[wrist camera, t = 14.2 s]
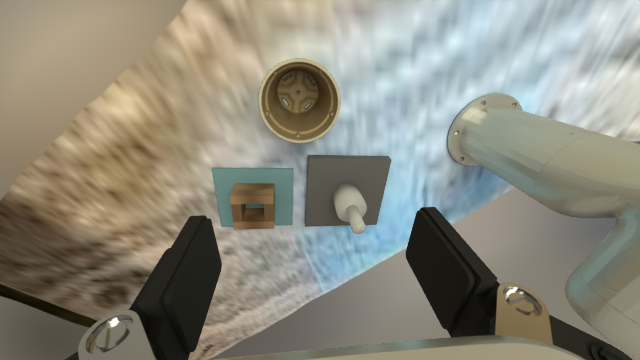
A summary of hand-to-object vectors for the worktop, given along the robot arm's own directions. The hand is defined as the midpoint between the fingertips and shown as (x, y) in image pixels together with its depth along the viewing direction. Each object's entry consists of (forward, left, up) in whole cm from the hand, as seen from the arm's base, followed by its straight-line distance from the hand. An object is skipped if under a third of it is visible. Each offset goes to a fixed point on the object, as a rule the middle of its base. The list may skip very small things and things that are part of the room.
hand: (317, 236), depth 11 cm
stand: (-9, +15, -29) cm, 34 cm away
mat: (+7, +17, -29) cm, 34 cm away
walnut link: (+7, +17, -28) cm, 34 cm away
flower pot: (0, -2, -29) cm, 29 cm away
